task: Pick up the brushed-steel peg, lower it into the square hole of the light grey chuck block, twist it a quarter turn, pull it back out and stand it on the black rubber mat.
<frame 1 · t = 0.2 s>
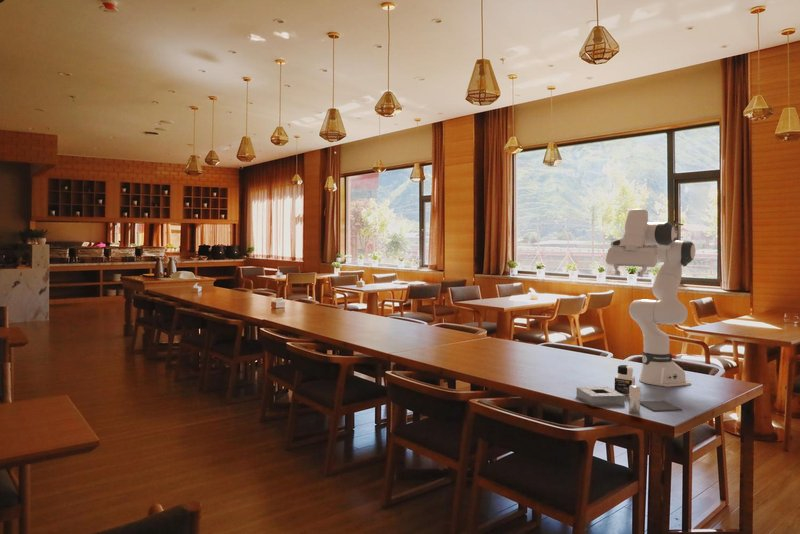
hand: (628, 275, 233), 52 cm above the table, tool tilted 20°, fingers open, 8 cm apart
chuck block: (599, 400, 230), on the table
medicine bottle: (624, 393, 243), on the table
rubber mat: (659, 406, 223), on the table
steel peg: (634, 412, 215), on the table
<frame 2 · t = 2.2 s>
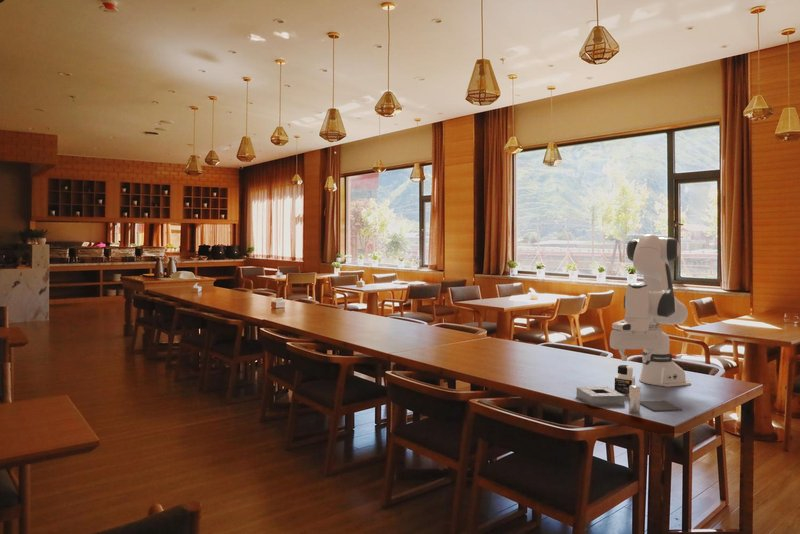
hand: (635, 360, 214), 20 cm above the table, tool pointing down, fingers open, 8 cm apart
nothing on the table moved.
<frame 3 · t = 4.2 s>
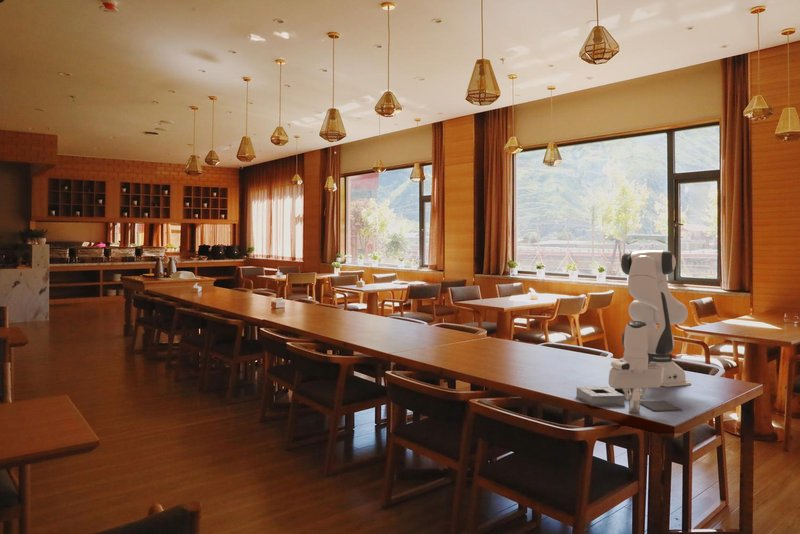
hand: (634, 399, 215), 5 cm above the table, tool pointing down, fingers closed on steel peg, 4 cm apart
steel peg: (634, 412, 215), on the table, touching gripper
everything else where it was.
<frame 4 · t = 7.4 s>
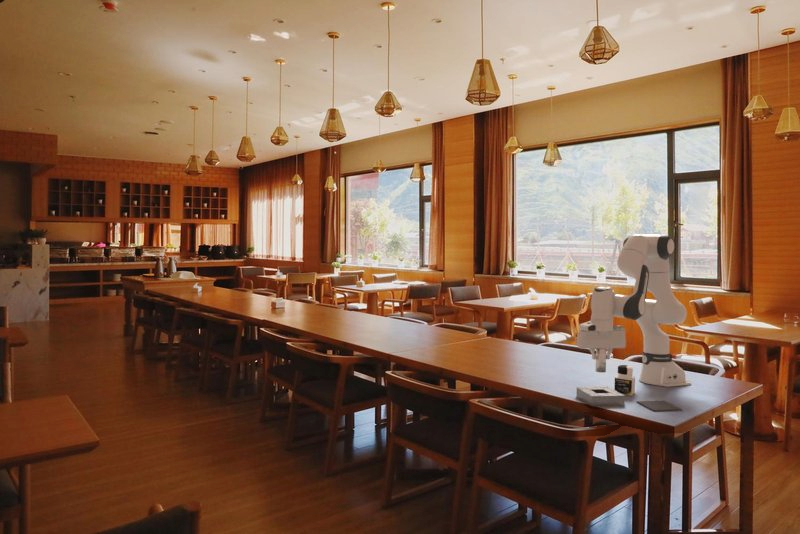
hand: (600, 359, 230), 18 cm above the table, tool pointing down, fingers closed on steel peg, 4 cm apart
steel peg: (600, 371, 230), point 12 cm above the table, touching gripper
everything else where it was.
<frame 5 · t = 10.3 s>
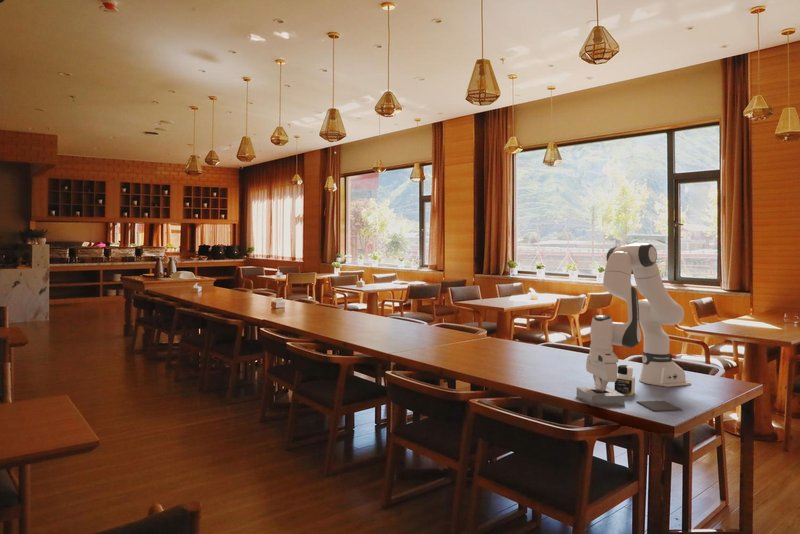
hand: (600, 387, 230), 6 cm above the table, tool pointing down, fingers closed on steel peg, 4 cm apart
steel peg: (600, 399, 230), resting in chuck block, touching gripper
everything else where it was.
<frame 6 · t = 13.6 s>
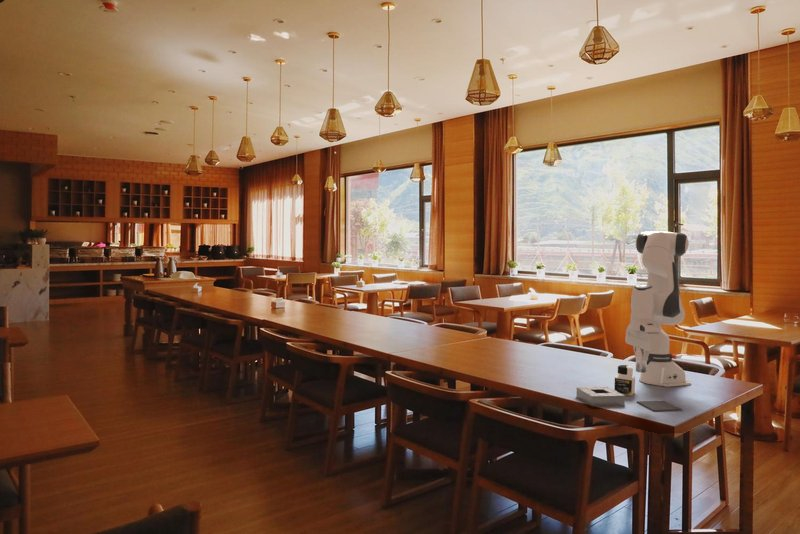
hand: (641, 358, 225), 19 cm above the table, tool pointing down, fingers closed on steel peg, 4 cm apart
steel peg: (641, 371, 225), point 14 cm above the table, touching gripper
everything else where it was.
when the fingers open (8 cm above the table, at t = 16.7 s): steel peg drops 2 cm, resting on rubber mat.
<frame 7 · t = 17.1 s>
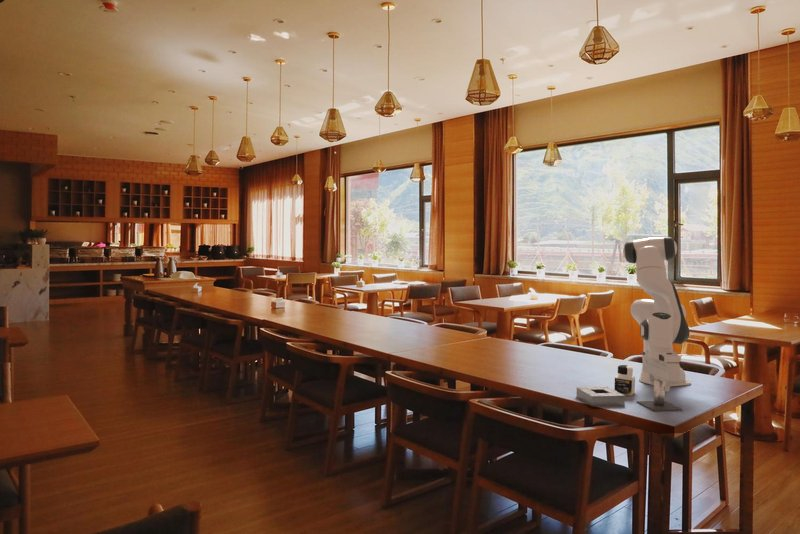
hand: (659, 387, 223), 8 cm above the table, tool pointing down, fingers open, 8 cm apart
steel peg: (658, 404, 223), point 1 cm above the table, touching rubber mat
everything else where it was.
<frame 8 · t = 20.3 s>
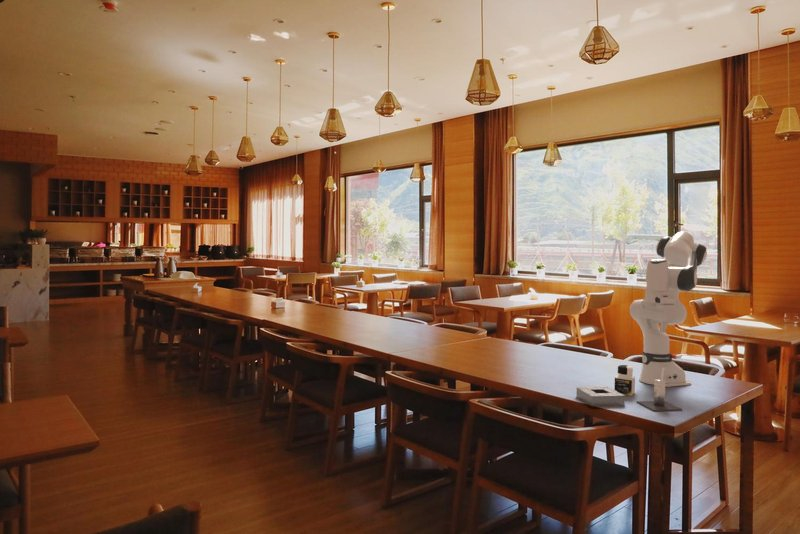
hand: (655, 330, 232), 29 cm above the table, tool pointing down, fingers open, 8 cm apart
nothing on the table moved.
at the end: steel peg inside the target area on the rubber mat (0.0 cm from its centre), point 0.6 cm above the rubber mat's base; steel peg tilted 0°; the gripper is holding nothing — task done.
